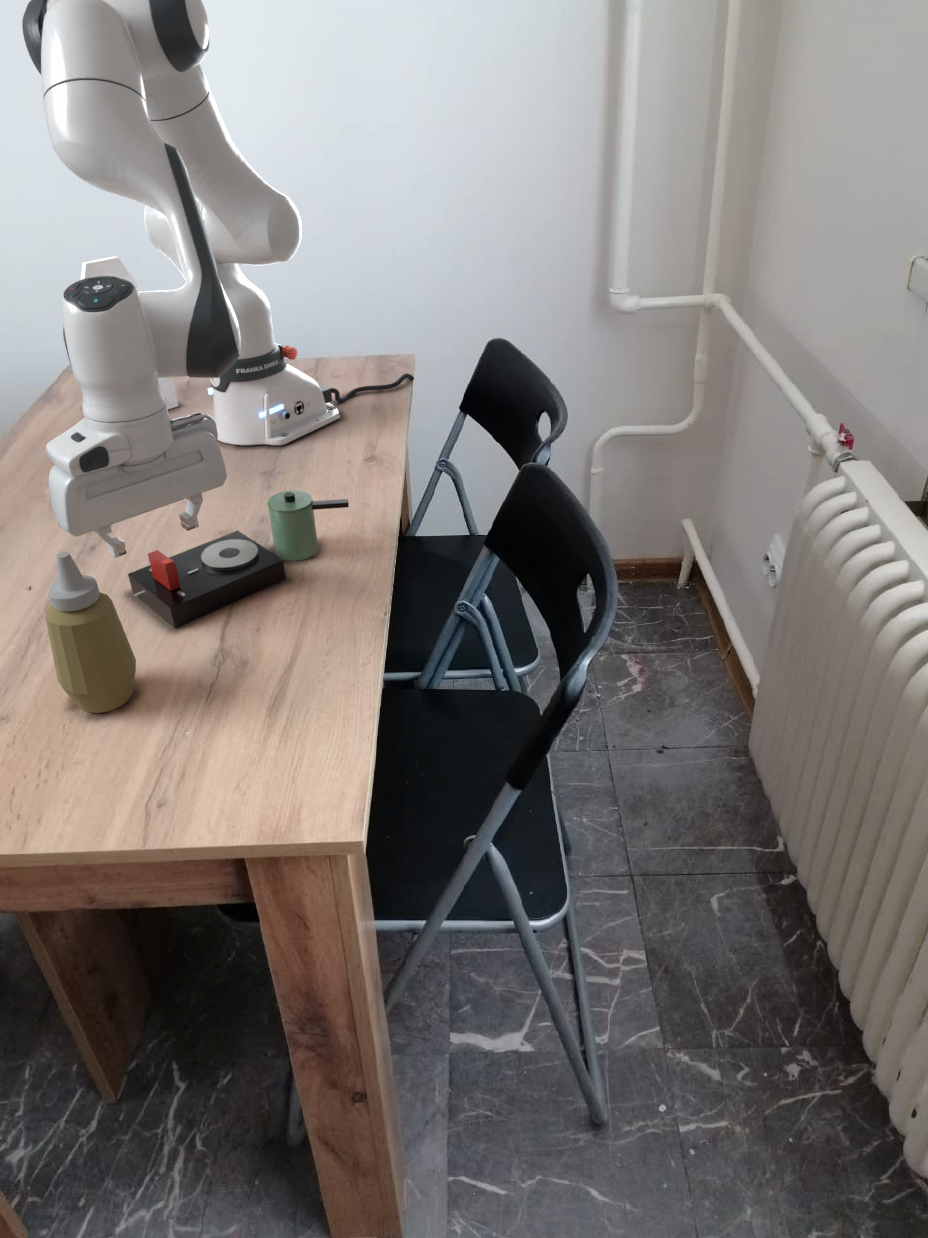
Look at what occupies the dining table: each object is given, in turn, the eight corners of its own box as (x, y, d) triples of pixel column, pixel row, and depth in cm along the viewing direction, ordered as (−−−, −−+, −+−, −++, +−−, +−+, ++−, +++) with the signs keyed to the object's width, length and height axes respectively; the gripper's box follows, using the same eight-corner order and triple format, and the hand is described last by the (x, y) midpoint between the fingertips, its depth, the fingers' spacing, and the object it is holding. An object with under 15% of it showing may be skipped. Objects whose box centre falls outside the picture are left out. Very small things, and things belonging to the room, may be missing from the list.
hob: (240, 549, 129) (237, 529, 127) (286, 579, 122) (283, 558, 120) (119, 599, 119) (113, 578, 117) (161, 635, 112) (155, 613, 110)
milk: (147, 390, 180) (117, 248, 165) (178, 405, 173) (149, 258, 158) (88, 407, 173) (51, 260, 158) (118, 424, 166) (82, 272, 152)
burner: (239, 537, 126) (238, 533, 125) (269, 557, 121) (268, 552, 121) (191, 556, 122) (190, 552, 121) (220, 577, 117) (219, 573, 117)
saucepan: (322, 526, 134) (316, 472, 129) (356, 546, 129) (351, 490, 124) (266, 550, 129) (257, 494, 124) (299, 571, 124) (291, 514, 119)
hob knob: (153, 577, 117) (146, 551, 115) (163, 573, 118) (157, 547, 116) (170, 591, 115) (164, 565, 112) (181, 587, 115) (175, 561, 113)
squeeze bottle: (77, 677, 106) (33, 536, 96) (150, 672, 106) (113, 532, 96) (57, 723, 99) (7, 578, 89) (135, 718, 100) (94, 573, 89)
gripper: (199, 401, 113) (217, 504, 120) (30, 449, 101) (62, 560, 109) (226, 415, 109) (244, 521, 117) (54, 467, 97) (86, 581, 105)
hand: (155, 540), depth 113 cm, fingers open, 8 cm apart
